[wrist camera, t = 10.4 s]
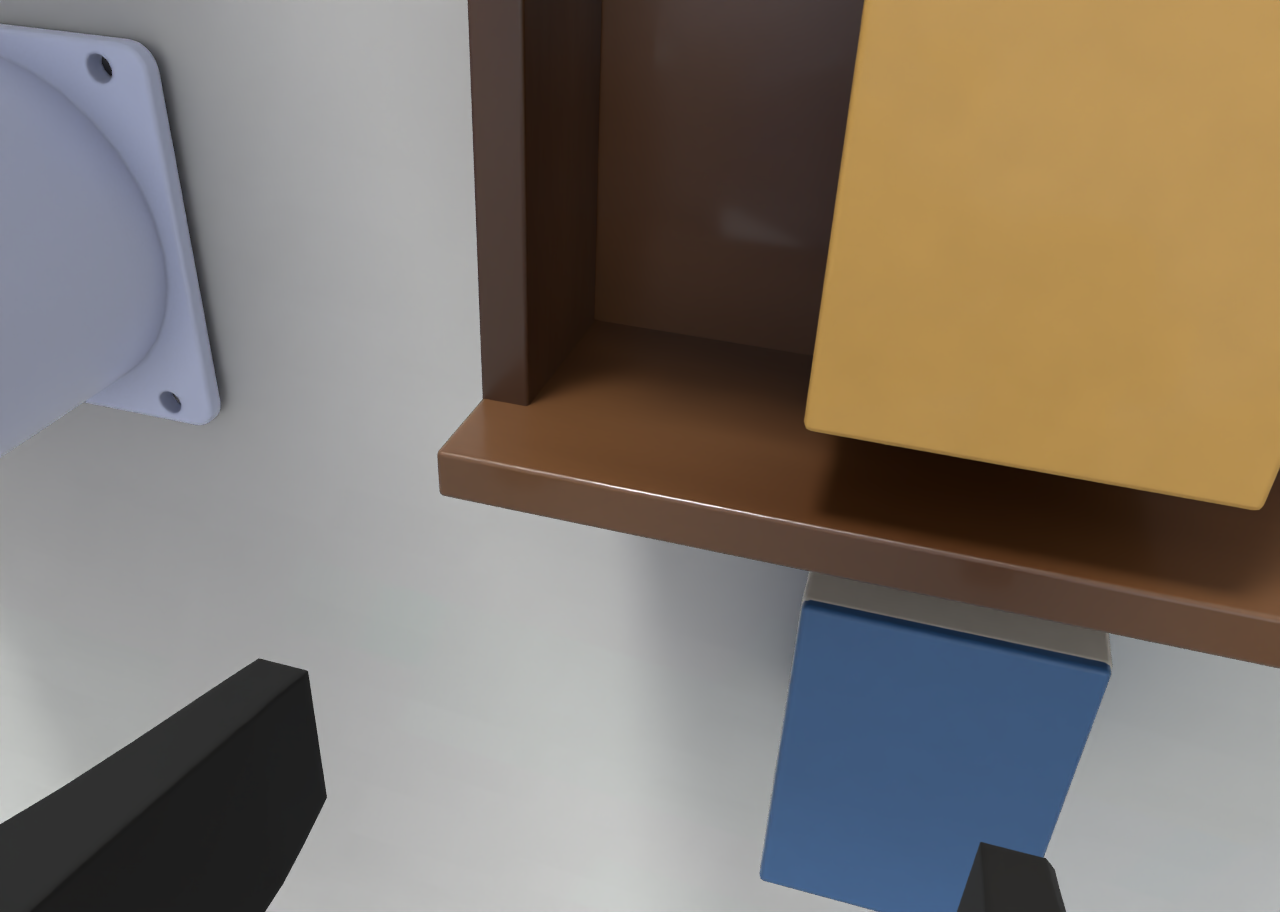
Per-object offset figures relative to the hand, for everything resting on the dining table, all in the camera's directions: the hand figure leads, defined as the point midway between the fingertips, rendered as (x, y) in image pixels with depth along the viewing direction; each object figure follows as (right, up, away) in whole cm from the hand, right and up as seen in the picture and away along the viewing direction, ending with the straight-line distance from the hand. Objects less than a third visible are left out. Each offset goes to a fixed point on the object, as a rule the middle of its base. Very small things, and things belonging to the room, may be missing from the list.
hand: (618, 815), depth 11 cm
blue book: (+6, +1, +10) cm, 12 cm away
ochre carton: (+6, +8, +2) cm, 10 cm away
